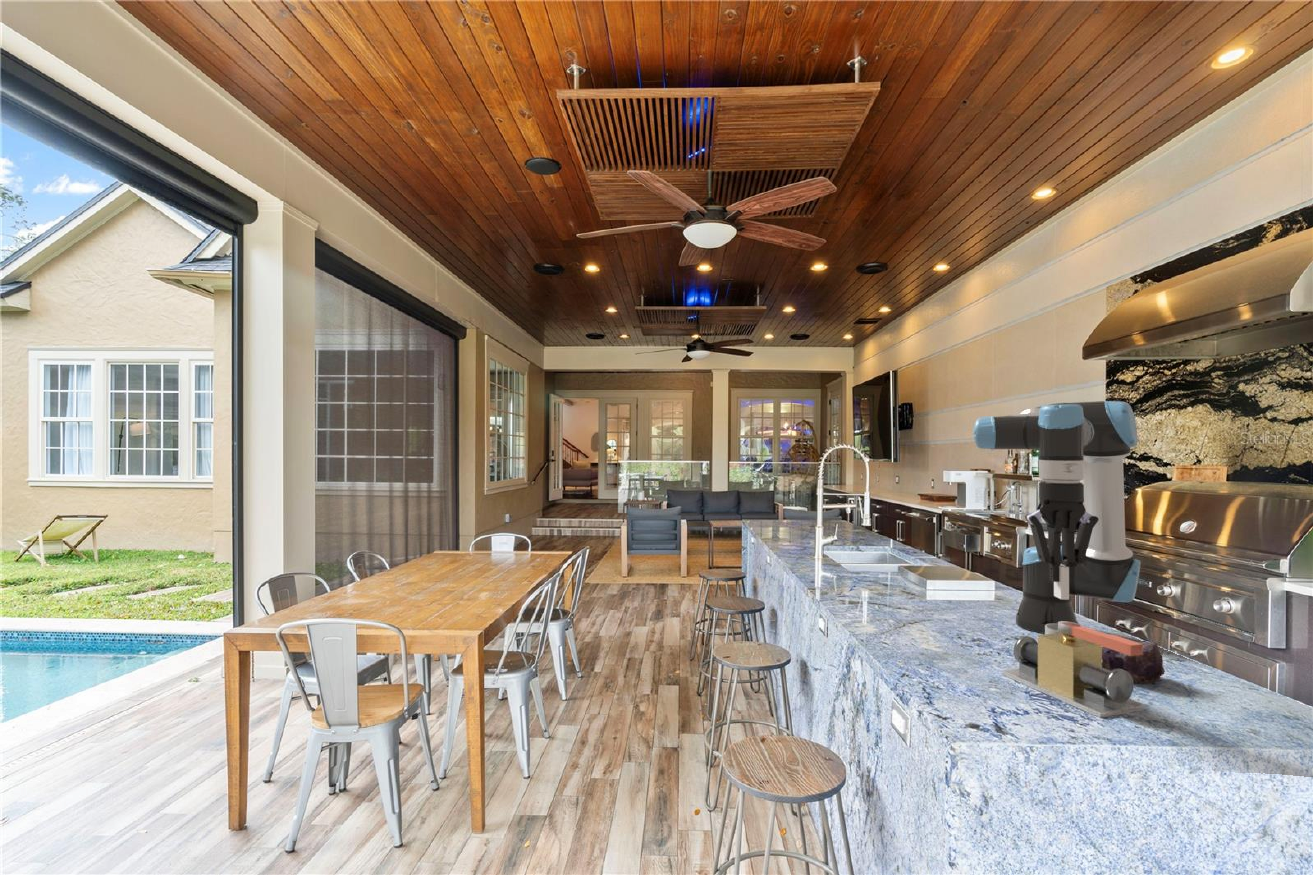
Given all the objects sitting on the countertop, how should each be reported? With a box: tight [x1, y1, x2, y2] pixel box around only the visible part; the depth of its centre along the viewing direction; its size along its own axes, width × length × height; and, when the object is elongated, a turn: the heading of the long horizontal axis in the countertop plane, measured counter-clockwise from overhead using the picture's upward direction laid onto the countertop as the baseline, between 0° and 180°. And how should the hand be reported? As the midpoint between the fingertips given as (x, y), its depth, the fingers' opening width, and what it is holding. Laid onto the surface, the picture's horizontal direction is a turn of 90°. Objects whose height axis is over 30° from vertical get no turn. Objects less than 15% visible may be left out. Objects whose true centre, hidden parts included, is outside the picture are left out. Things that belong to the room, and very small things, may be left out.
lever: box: [1058, 621, 1143, 656], centre depth 122 cm, size 16×4×2 cm, turn 15°
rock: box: [1102, 641, 1165, 685], centre depth 134 cm, size 12×9×10 cm
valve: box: [1002, 633, 1146, 719], centre depth 128 cm, size 12×22×12 cm, turn 17°
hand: (1061, 597), depth 121 cm, fingers closed
